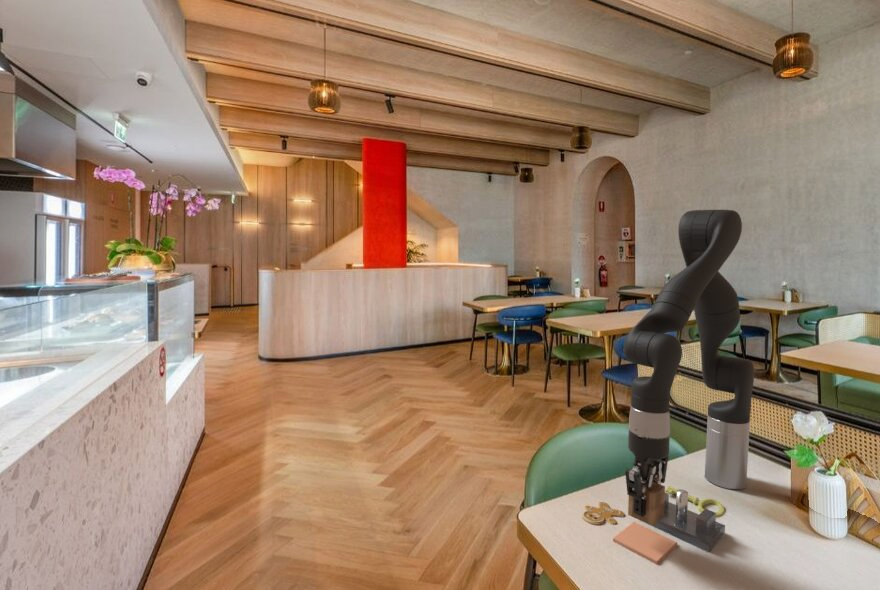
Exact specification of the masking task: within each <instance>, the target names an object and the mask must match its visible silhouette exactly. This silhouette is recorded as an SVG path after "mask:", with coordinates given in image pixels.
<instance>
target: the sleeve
mask: <svg viewBox="0 0 880 590" xmlns="http://www.w3.org/2000/svg"><path fill="white" fill-rule="evenodd" d="M641 481H642V482H645V483H646V482H647V481H645V480H643V479H641ZM641 487H642V486H641ZM632 489H633V488H632ZM642 491H643V487H642ZM665 491H666V486H665V485H662V484H661V485H660V484H656V483H655V482H653V481H652V484H651V488H648V491H647V496H646V515H645V516H644V517H641V516H639V515H637V514H635V513H634V511H633V509H634V497H632V496H629V495H628V505H627V506H628V507H627V509H628V511H627V515H628V516H630V517H632V518H634V519H636V520H639V521H641V522H643V523H645V524H647V525H648V526H651V527H654V526H653V525H655V524H656V523H657V522H658V521H659V520H661V519H662V518H663V517H664V500H665V493H666V492H665Z"/></svg>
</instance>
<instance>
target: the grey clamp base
mask: <svg viewBox="0 0 880 590" xmlns="http://www.w3.org/2000/svg"><path fill="white" fill-rule="evenodd" d="M688 495H689V492H688V491H687V490H684V489H680V488H679V489H677V495H676V498H675V499H676V501H675V503H673V502H669V501H670V494H669V493H668V492H665V500H664V517H663V518H662V519H661V520H659V521H658V522H657V523H656V524H655V525H653V526H652V527H654V528H656V529H658V530H660V531H663V532H664V533H667V534H668V533H669V534H668V535H671V536H673V537H675V538H677V539H679V540H681V541H683V542H685V543H688V544H690V545H692V546H693V547H697V548H699V549H701V550H702V551H705V552H707V553H709V552H710V551H711V550H712V549H713V548H714V547H715V546H716V544H718V543H719V541H720V540H721V539H722V538H723V537H724V536H725V533H726V524H723V523H720V522H718V521H716V519H717V517H716V512H715V511H713V510H710V509H707V508H705V509H704V511H703V512H702V513H700V512H699V514H698V513H696V512H694V511H692V510H688V507H689V506H688V505H689V500H688Z"/></svg>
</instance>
